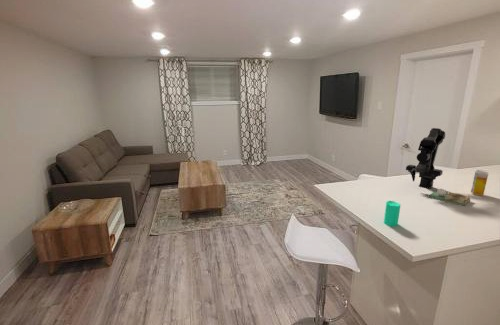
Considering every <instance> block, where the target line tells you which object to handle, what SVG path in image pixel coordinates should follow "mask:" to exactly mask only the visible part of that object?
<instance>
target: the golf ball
mask: <svg viewBox="0 0 500 325" xmlns="http://www.w3.org/2000/svg"><path fill="white" fill-rule="evenodd" d="M436 192H437V194H438V195H439V196H444V195H445V194H447V192H446V190H445V189H443V188H439V189H437V191H436Z"/></svg>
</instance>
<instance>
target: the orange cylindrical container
mask: <svg viewBox="0 0 500 325" xmlns="http://www.w3.org/2000/svg"><path fill="white" fill-rule="evenodd" d="M488 172H489V171H486V170H482V169H476V171H474V176H473V180H472V185H471V189H470V193H471V194H472V195H473V196H478V197H482V196H484V194H485V190H486V185H487V181H488V177H489V173H488Z"/></svg>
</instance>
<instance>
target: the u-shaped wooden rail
mask: <svg viewBox="0 0 500 325" xmlns="http://www.w3.org/2000/svg"><path fill="white" fill-rule="evenodd" d="M447 194H448V195H445V199H446V200H450V201H454V202H458V203H462V204H466V203H467V202H470V200H469V199H471V196H470V195H466V194H463V193H462V194H461V193H458V192H453V191H448V193H447ZM467 204H468V203H467ZM467 204H466V205H467Z"/></svg>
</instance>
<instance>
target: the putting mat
mask: <svg viewBox="0 0 500 325" xmlns="http://www.w3.org/2000/svg"><path fill="white" fill-rule="evenodd" d="M448 194H449V193H446V194H445V195H448ZM445 195H444V196H439V195H438V194H437V191H436V190H434V191H432V192H431V193H430V194H429V195H428V196H427V198H429V199H433V200H438V201H442V202H446V203H449V204H454V205H459V206H463V207H465V206H466V205H467V204H468V202H469V201H470V200H471V198H469V201H468V202H467V203H466V204H462V203H458V202H454V201H450V200H446V199H445Z"/></svg>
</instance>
